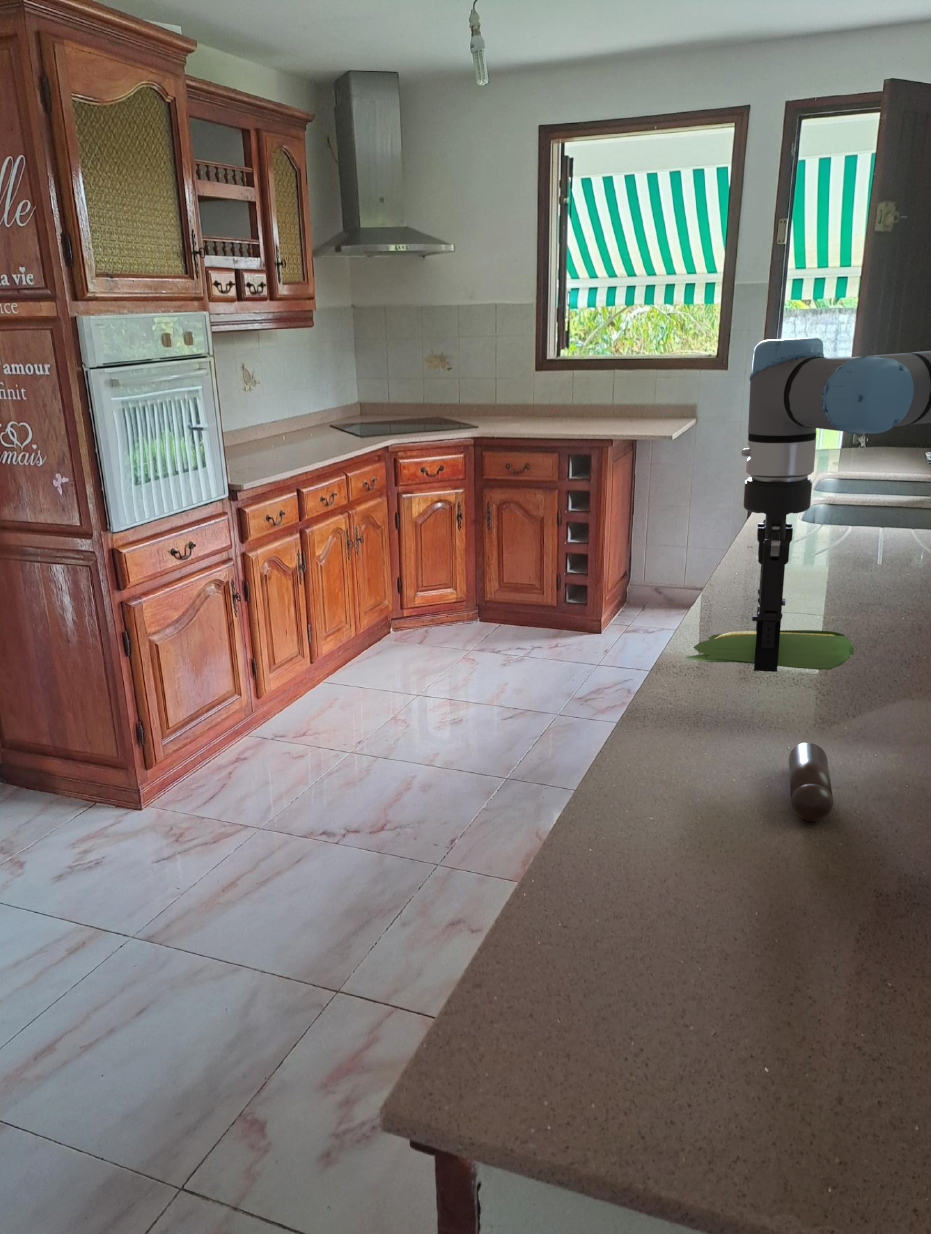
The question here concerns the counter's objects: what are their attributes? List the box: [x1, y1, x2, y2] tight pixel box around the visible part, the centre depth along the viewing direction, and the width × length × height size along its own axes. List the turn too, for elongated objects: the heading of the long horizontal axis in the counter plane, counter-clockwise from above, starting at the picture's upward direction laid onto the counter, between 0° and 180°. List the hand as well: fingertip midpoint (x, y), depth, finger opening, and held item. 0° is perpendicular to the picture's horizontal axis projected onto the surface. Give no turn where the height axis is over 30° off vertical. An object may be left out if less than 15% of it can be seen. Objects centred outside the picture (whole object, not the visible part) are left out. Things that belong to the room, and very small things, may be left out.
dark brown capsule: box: [788, 742, 834, 822], centre depth 103 cm, size 14×4×4 cm, turn 162°
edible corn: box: [683, 629, 855, 671], centre depth 122 cm, size 5×20×5 cm, turn 71°
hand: (765, 662), depth 122 cm, fingers closed on edible corn, 5 cm apart
